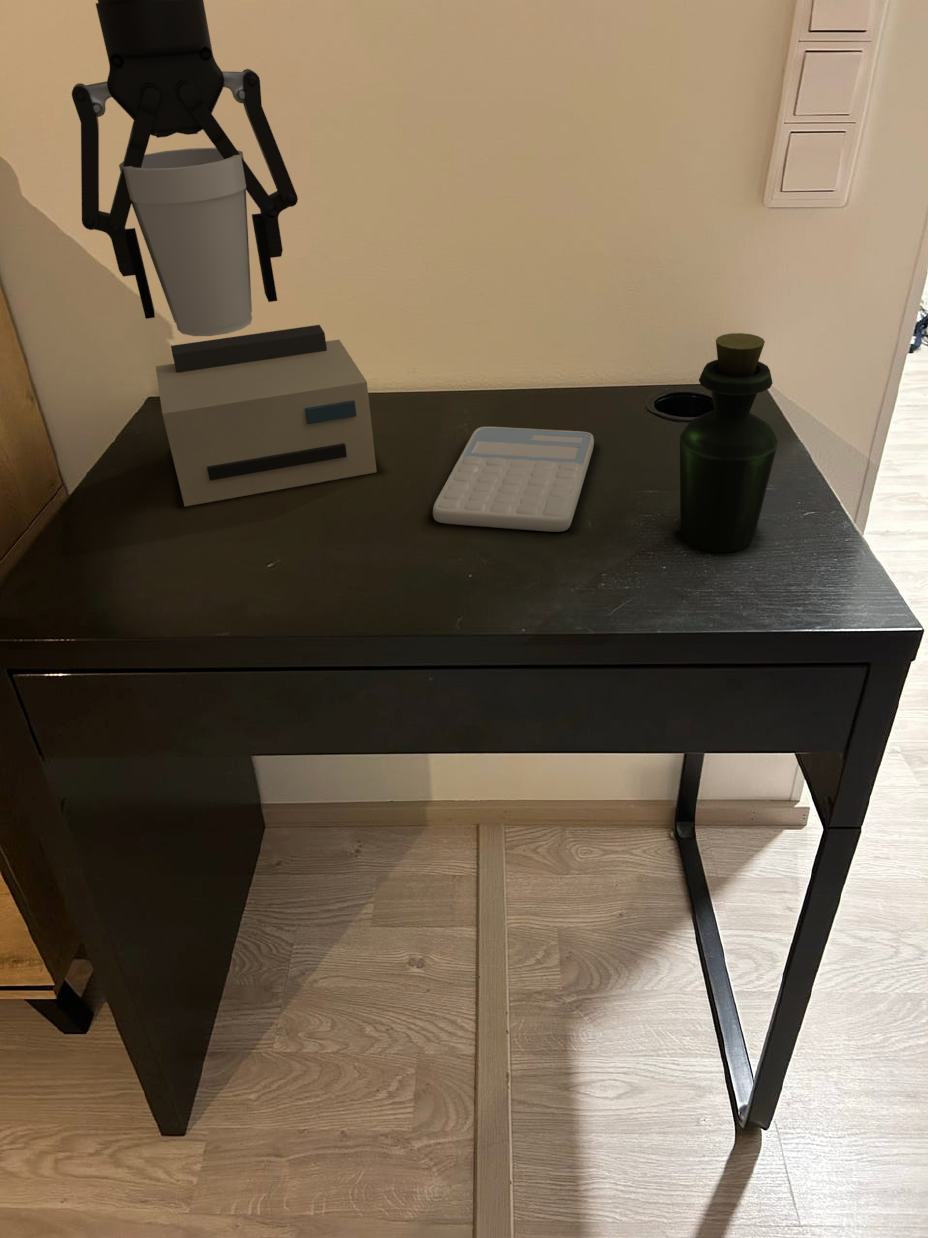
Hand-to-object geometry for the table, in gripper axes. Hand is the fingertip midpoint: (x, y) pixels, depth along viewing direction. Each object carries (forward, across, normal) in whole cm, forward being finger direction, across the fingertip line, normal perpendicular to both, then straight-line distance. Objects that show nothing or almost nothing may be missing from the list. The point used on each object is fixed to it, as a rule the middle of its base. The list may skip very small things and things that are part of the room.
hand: (211, 305), depth 81 cm
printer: (+21, -3, -13) cm, 25 cm away
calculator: (+21, -27, +2) cm, 34 cm away
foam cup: (+2, 0, 0) cm, 2 cm away
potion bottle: (+21, -40, +18) cm, 49 cm away
